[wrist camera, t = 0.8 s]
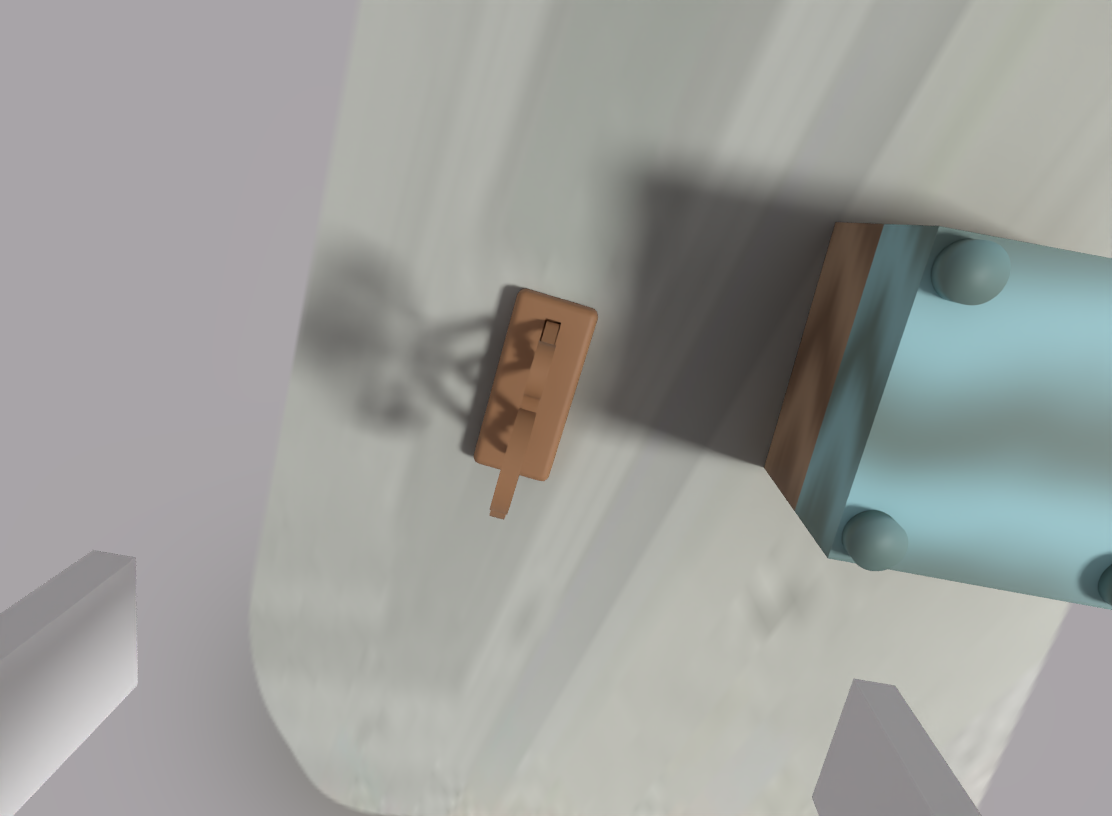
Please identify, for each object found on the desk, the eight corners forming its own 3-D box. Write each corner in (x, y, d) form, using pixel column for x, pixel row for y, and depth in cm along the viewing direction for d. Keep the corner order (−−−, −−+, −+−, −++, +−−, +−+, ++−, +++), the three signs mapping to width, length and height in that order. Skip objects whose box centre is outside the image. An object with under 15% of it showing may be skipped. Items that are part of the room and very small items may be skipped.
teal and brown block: (835, 222, 29) (952, 226, 20) (1096, 271, 30) (1334, 298, 20) (764, 467, 33) (835, 569, 24) (998, 510, 33) (1162, 628, 24)
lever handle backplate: (547, 477, 34) (528, 614, 22) (474, 456, 33) (415, 583, 22) (599, 310, 31) (607, 367, 20) (520, 286, 31) (482, 330, 19)
